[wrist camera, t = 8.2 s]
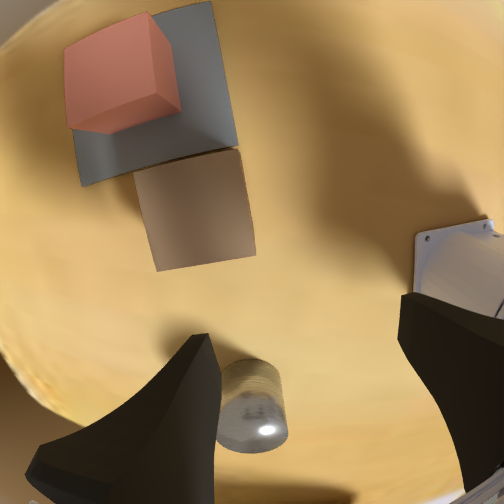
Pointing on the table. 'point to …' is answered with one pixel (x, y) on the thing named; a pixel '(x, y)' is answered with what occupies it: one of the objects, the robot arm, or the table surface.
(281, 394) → the grey metal cylinder
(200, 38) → the slate mat
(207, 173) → the walnut block
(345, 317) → the table surface
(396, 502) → the table surface
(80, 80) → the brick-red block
